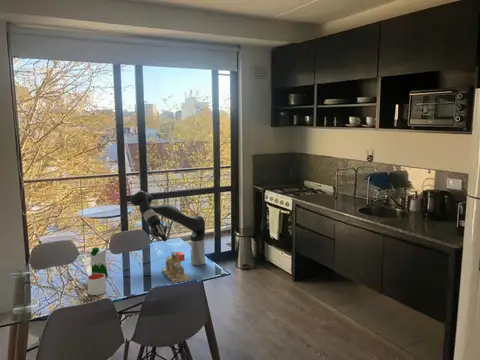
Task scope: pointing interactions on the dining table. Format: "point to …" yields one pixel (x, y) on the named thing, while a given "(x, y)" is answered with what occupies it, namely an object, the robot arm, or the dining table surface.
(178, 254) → the lever
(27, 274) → the dining table surface
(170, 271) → the valve
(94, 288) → the cup
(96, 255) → the milk carton
